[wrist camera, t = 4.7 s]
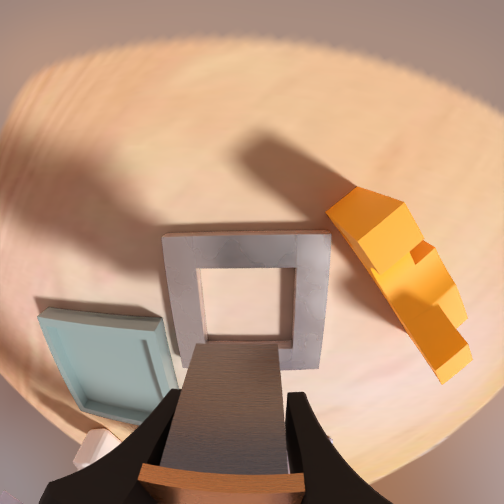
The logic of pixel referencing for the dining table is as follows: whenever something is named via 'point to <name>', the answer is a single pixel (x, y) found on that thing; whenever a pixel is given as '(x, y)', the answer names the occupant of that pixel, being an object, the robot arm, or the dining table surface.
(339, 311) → the dining table surface
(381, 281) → the pipe clamp
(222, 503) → the pin
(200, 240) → the socket
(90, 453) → the pepper shaker
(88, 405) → the tray
